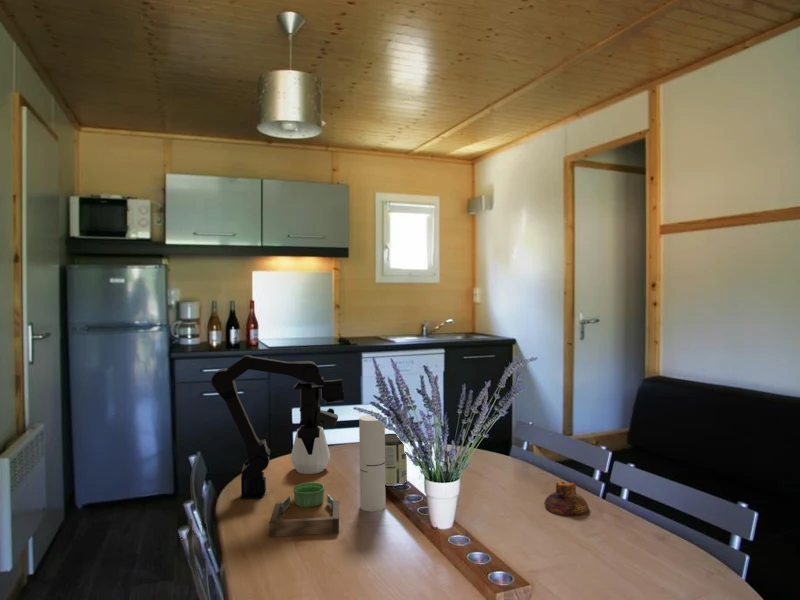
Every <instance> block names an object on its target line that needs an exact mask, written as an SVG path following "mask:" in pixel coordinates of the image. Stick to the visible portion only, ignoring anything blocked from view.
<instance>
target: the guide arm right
mask: <svg viewBox="0 0 800 600" xmlns="http://www.w3.org/2000/svg"><path fill="white" fill-rule="evenodd" d="M326 496H327V497H326V502H327V504H328V506H329V507H330V509H331V512H332V513H333V501H336V500H335V499H333V497H332V496H331V495H330V493H327V494H326Z"/></svg>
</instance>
